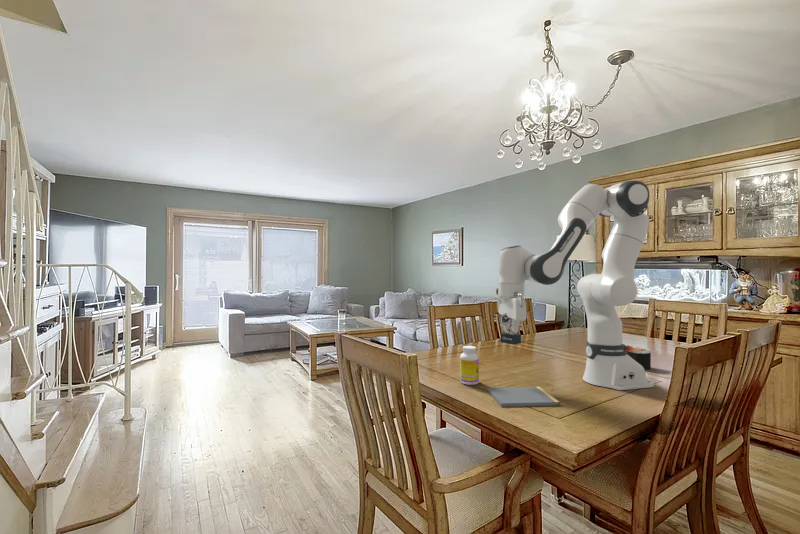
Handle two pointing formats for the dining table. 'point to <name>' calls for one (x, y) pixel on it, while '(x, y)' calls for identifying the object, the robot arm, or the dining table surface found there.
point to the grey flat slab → (522, 396)
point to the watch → (508, 336)
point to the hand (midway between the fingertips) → (511, 330)
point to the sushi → (641, 357)
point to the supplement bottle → (469, 366)
